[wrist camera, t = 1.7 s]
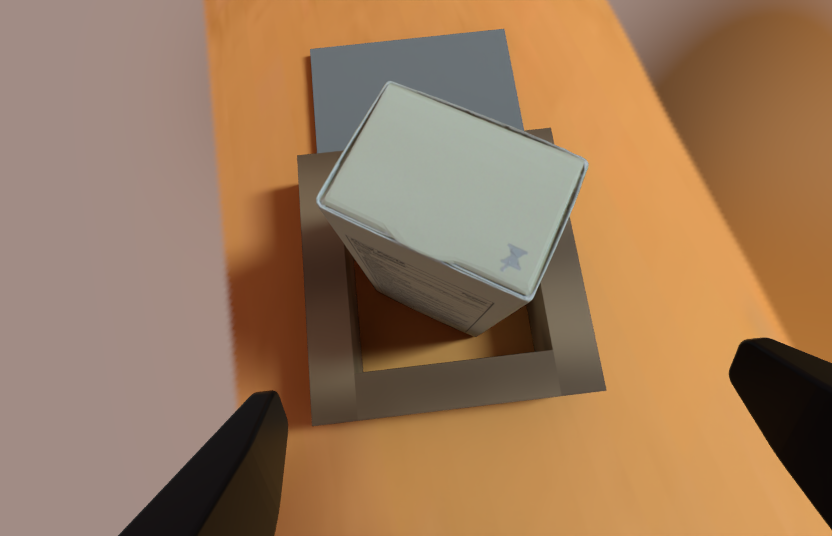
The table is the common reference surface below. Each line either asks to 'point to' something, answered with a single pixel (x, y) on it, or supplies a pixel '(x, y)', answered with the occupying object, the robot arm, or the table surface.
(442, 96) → the slate mat
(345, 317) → the square wooden frame
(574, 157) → the skincare box
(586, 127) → the table surface
